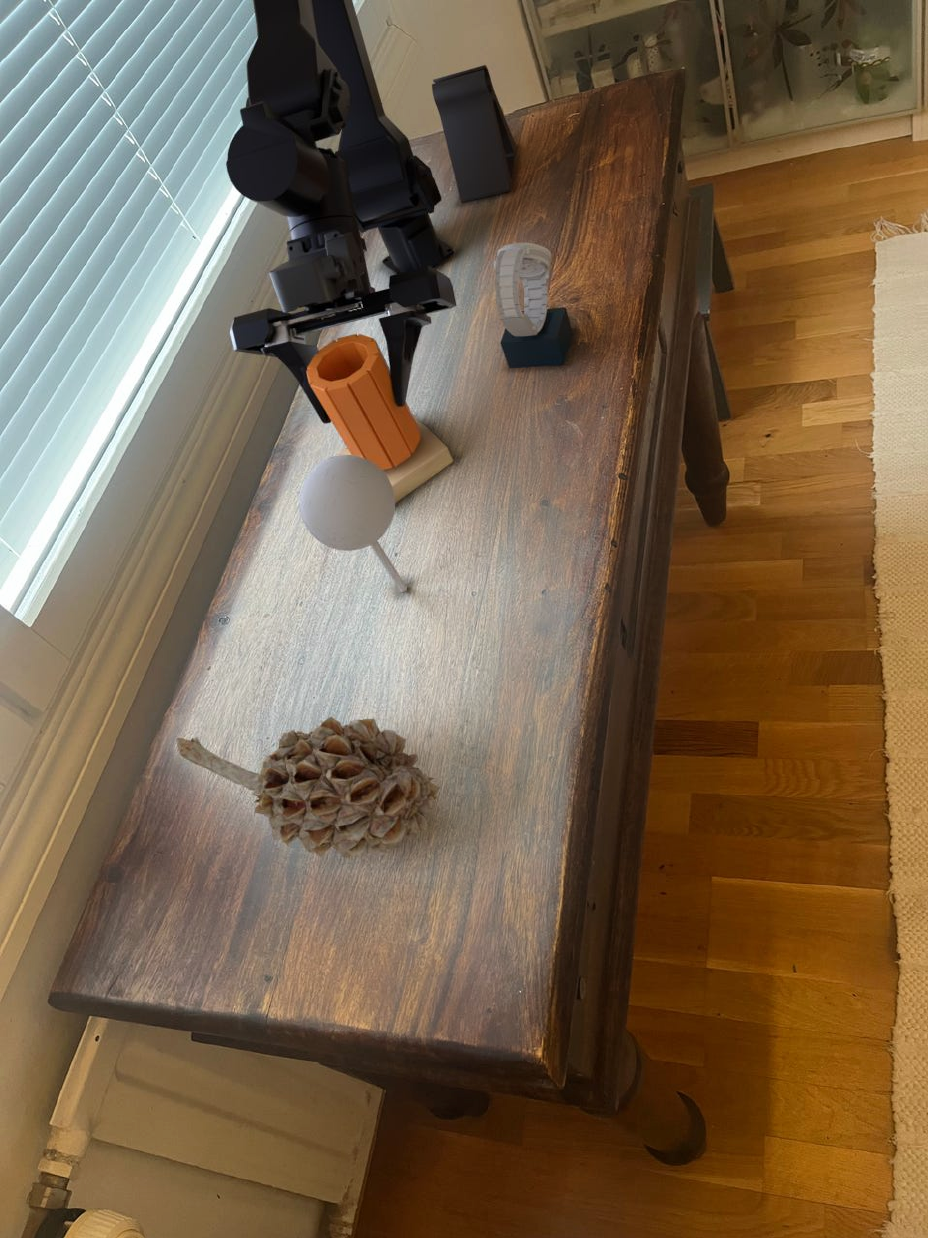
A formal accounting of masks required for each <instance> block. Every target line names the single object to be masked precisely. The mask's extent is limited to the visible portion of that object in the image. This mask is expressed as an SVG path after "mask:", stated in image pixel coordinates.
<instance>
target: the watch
mask: <svg viewBox="0 0 928 1238" xmlns="http://www.w3.org/2000/svg"><path fill="white" fill-rule="evenodd" d="M551 260H552V252H551V251H550V249H548V248H546V247H545V246H543V245H540V244H536V243H530V242H514V243H508V244H506V245H503V246H502V247H500V248H499V249H498V251H497V252H496V259H495V260H493V268H494V290H495V298H496V299H495V300H496V304H497V309H498V312H499V315H500V317H501V318H500V321H501V323H502V325H503V326H504V331H503V333H502V337H501V340H500V343H499V344H500V346H501V349H502V352H503V354H504V358H505V360H506V363H507V366H508V368H509V369H517V368H533V367H534V368H535V367H551V366H564V365H565V363H566V360H567V356H568V352H569V349H570V345H571V343H572V338H573V335H574V331H573V329H572V328H573V327H572V324H571V320H570V317H569V313H568V310H567V307H566V306H564V307H551V308H548V305H549V295H548V293H549V286H548V285H549V284H548V279H550V271H551ZM520 282H522V286H523V288H522V289H523V296H524V298H523V300H524V301H523V303H524V307H523V310H522V305H521V299H520V284H519V283H520Z"/></svg>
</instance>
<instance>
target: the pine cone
mask: <svg viewBox="0 0 928 1238" xmlns="http://www.w3.org/2000/svg"><path fill="white" fill-rule="evenodd" d="M175 736H176V746H177V748H176V750H177V751H178V755H180V756H181V757H182V758H184V759H185V760H187V761H189V762H190V763H193V764H194V765H197V766H199V767H202V768H203V769H206V770H208V771H210V772H212V773H214V774H216V775H218V776H220V777H221V778H224V779H226V780H229V781H230V782H232V783H233V784H236V785H240V786H243V787H244V788H246V789H247V790H249V791H252V796H254V797H256V798H258V799H256V800H254V803H258V805H257V806H255V808H254V813H255V814H260V815H263V816H264V817H265V818H267V819H268V820H267V822H268V824H269V826H270V828H271V836H272V839H273V841H278V840H282V843H284V844H285V845H286V846H289V845H291V843H293V842H294V841H295V840H296V839H297V838H298V840H299V841H301V845H302V846H303V848H304V849H305V850H306V851H307V852H308V853H315V855H317V856H318V857H320V858H322V857H324V855H325V854H326V853H327V852H328V851H329V849H330V848H331V847H332V848H333V849H336V850H337V851H338V852H339V854H341V856H342V857H343V858H344V859H345V860H347V859H349V858H352V857H358V858H359V857H360V856H363V854H364V852H366V851H365V850H366V848H367V846H368V847H370V848H371V849H372V850H374V851H375V852H377V853H382V854H383V853H387V852H388V850H393V849H397V848H399V845H400V844H399V843H400V842H402V841H403V838H405V839H413V840H414V839H415V840H417V839H419V837H420V832H421V833H422V832H424V831H426V830H427V828H428V826H429V825H428V820H427V818H426V816H425V815H424V814H427V812H429V811H431V810H436V809H437V808H436V807H437V801H436V800H437V798H438V797H437V795H438V793H439V790H440V789H441V787H440V786H438V785H437V784H435V783H433V782H432V780H434V777H432V776H428V775H427V774H426V773H424V772H423V770H421V768H419V767H415V766H414V765H416V763H417V762H418V761H419V760H418V759H419V755H418V753H412V754H407V753H405V752H404V750H405V748H406V743H407V742H406V741H407V739H406V738H404V737H402V736H400V735H399V734H397V733H396V731H395V730H392V729H384V730H382V731H381V730H380V728H379V726H378V724H377V722H376V719H375V718H363V719H353V720H351V721H350V722H349V723H348V724H344V725H343V726H342V724H341V722H340V721H339V720H337V719H335V718H334V717H332V716H330V717H328V718H327V719H325V720H324V721H323V722H321V724H320V725H319V726H317V727H315V728H314V729H313V731H309V732H308V733H306V732H305V733H304V732H303V731H302V730H297V731H295V730H294V729H292V730H290V731H288V732H284V733H282V735H281V736H280V738H279V739H278V747H277V749H276V750H274V751H273V753H272V754H269V755H268V756H266V758H265V759H264V760H263V761H262V766H261V769H260V772H259V773H257V772H254V771H250V770H248V769H246V768H244V767H242V766H240V765H238V764H235V763H233V762H232V761H229V760H227V759H224V758H222V757H220V756H218V755H216V754H215V753H213V752H211V751H210V750H208V749H207V748H205V747H204V746H203V745H202V742H201V741H200V738H199V737H197V736H195V737H192V738H191V739H187V738H184V737H180V736H179V735H178V734H177V733H175Z"/></svg>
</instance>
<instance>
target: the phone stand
mask: <svg viewBox="0 0 928 1238" xmlns="http://www.w3.org/2000/svg"><path fill="white" fill-rule="evenodd" d="M432 82H433V83H431V91H432V96H433V100H434V103H435V106H436V108H437V111H438V115H439V118H440V121H441V125H442V130H443V133H444V138H445V141H446V142H445V143H446V146H447V151H448V154H449V158H450V162H451V167H452V170H453V175H454V179H455V182H456V187H457V190H458V196H459V199H460V202H461V204H463V203H468V202H472V201H476V200H481V199H485V198H489V197H494V196H497V195H501V194H506V193H510V192H512V187H513V181H514V172H515V166H516V158H517V152H518V151H517V150H518V148H517V144H516V142H515V140H514V137H513V135H512V132H511V129H510V127H509V124H508V122H507V119H506V116H505V114H504V112H503V109H502V107H501V106H502V105H501V104H500V102H499V99H498V96H497V94H496V91H495V89H494V86H493V82H492V78H491V75H490V71H489V69H488V66H487V65H486V64H483V65H480V66H477V67H476V66H475V67H473V68H469V69H466V70H462V71H459V72H455V73H451V74H448V75H445V76H442V77H437V78H434V79H432Z"/></svg>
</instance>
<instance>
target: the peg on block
mask: <svg viewBox="0 0 928 1238" xmlns="http://www.w3.org/2000/svg"><path fill="white" fill-rule="evenodd" d="M412 415H413V417H414V419H415V421H416V423H417V425H418V428H419V431H420V434H421V436H420V441H419V443H418V445H417V447H416V449H415V451H414V453H411V456H410V457H409V458H407V459H406V460H404V461H403V462H402V463H400V464H399V465H397V466H396V467H395V466H394V465H393V468H391V469H386V470H382V471H384V473H385V474H386V475H387V477H388V479H389V481H390V483H391V485H392V488H393V491H394V496H395V504H397V503H398V502H399V501H401V500H402V499H404V498H405V497H406V496H408V495H409V494H411V493H412V492H413V491H415V490H416V489H417V488H419V487H420V486H422V485H423V484H424V483H426V482H427V481H428V480H430V479H432V478H433V477H434V476H436V475H437V474H439V473H440V472H441V471H443V470H444V469H446V468H447V467H448V466H449V465H451V464H453V462H454V459H453V457H452V455H451V453H450V450H449V448H448V446H446V444H444V442H443V441H441V439H440V438H438V436H436V435H435V434H434V433H433V432H432V431H431V430H430V429H429V428H428V427H427V426H426V425H424V423H423V422H422V421H421V420H420V419H419V418H418V417H416V415H415V414H413V413H412ZM338 455H351V453H350V451H349V450H348V448H347V447H345V448H344V449H342V451H339V452H338V453H337V455H336V456H338Z"/></svg>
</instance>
